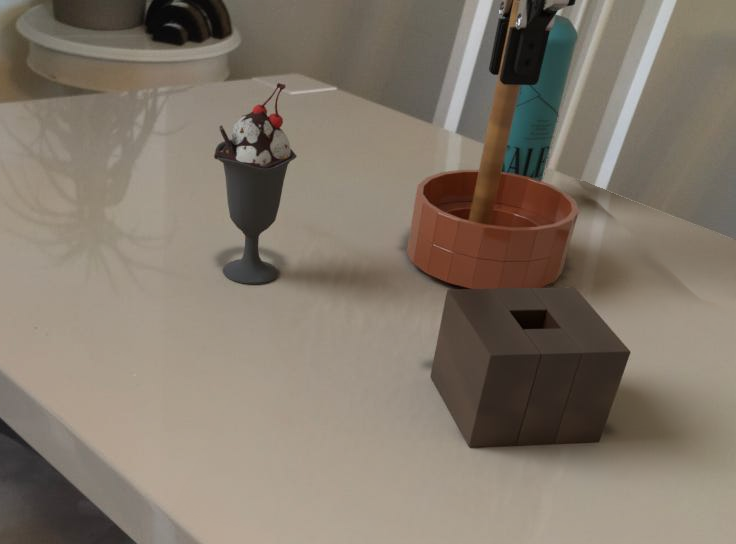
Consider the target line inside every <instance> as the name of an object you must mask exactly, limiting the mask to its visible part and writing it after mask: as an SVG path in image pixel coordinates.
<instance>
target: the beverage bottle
mask: <svg viewBox="0 0 736 544" xmlns="http://www.w3.org/2000/svg"><path fill="white" fill-rule="evenodd" d="M575 4H576V0H569V3H568V5H567V6H566V7H572V6H574V5H575ZM578 38H579V34H578V32H577V29H576V28H575V26H574V24H573V23H572V21H571V20H570V18H567V17H566V16H563V15H560V14H556V17H555V21H554V25H553V28H552V29H551V30H550V33H549V37H548V41H547V46H546V50H545V54H544V59H543V63H542V67H541V72H540V76H539V80H538V82H537V83H536V84H535V85H521V86H520V91H519V95H518V100H517V104H516V109H515V113H514V118H513V122H512V127H511V131H510V136H509V141H508V145H507V150H506V154H505V159H504V163H503V168H502V172H507V173H513V174H517V175H522V176H526V177H530V178H534V179H537V180H540V181H542V182H544V177H545V174H546V169H547V167H546V166H548V163H549V161H548V160H549V158H550V157H549V156H550V150H551V147H552V146H553V144H552V143H553V142H554V139H555V138H554V137H555V136H554V135H555V134H556V131H557V129H556V127H557V124H558V122H559V120H560V118H559V117H560V115H559V111H560V107H561V103H562V99H563V96H564V91H565V87H566V83H567V79H568V75H569V71H570V68H571V63H572V61H573V55H574V51H575V47H576V44H577V41H578Z"/></svg>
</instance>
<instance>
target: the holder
mask: <svg viewBox="0 0 736 544" xmlns="http://www.w3.org/2000/svg"><path fill="white" fill-rule="evenodd" d="M617 335H618V334H616V333H615V332H614V330H612V328H611V327H610V326H609V325H608V323H607V322H605V320H604V319H603V318H602V317H601V316H600V315H599V313H598V312H597V311H596V310H595V309H594V308H593V306H592V305H591V304H590V303H589V302H588V301H587V299H585V297H584V296H583V295H582V294H581V292H579V291H578V289H577V288H576V287H575V286H565V287H563V286H562V287H561V286H558V287H557V286H556V287H542V288H497V289H470V288H456V289H455V288H454V289H453V288H452V289H447V290H446V294H445V299H444V305H443V309H442V316H441V319H440V325H439V330H438V335H437V341H436V345H435V351H434V356H433V359H432V360H433V361H432V365H431V371H430V379H431V382H432V383H433V384H434V386H435V388H436V390H437V392H438V393H439V396H440V397H441V399H442V402H443V403H444V405H445V406H446V408H447V410H448V412H449V413H450V415H451V417H452V419H453V421H454V423H455V425H456V427H457V428H458V430H459V432H460V433H461V435H462V437H463V439H464V441H465V443H466V444H467V446H468V448H481V447H483V448H485V447H507V446H509V447H510V446H535V445H555V444H576V443H579V444H581V443H599V442H601V439H602V436H603V434H604V430H605V428H606V424H607V421H608V418H609V416H610V413H611V410H612V407H613V404H614V402H615V399H616V396H617V393H618V390H619V387H620V385H621V381H622V378H623V375H624V372H625V369H626V367H627V364H628V361H629V359H630V355H631V350H630V349H629V347H627V346H626V345H625V343H624V342H623V341H622V340H621V339H620V337H619V336H617Z"/></svg>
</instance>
